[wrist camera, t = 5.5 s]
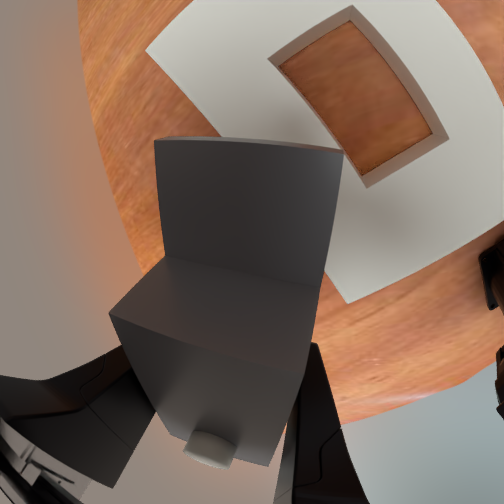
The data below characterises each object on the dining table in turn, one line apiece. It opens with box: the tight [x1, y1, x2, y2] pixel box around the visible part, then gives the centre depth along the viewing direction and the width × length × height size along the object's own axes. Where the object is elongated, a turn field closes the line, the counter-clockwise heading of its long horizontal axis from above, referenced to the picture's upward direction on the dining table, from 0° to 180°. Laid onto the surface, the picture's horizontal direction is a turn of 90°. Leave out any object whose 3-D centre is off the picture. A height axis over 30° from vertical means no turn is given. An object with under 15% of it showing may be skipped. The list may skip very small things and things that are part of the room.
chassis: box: [145, 0, 504, 304], centre depth 12 cm, size 22×16×3 cm
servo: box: [109, 136, 344, 469], centre depth 8 cm, size 13×4×7 cm, turn 178°
